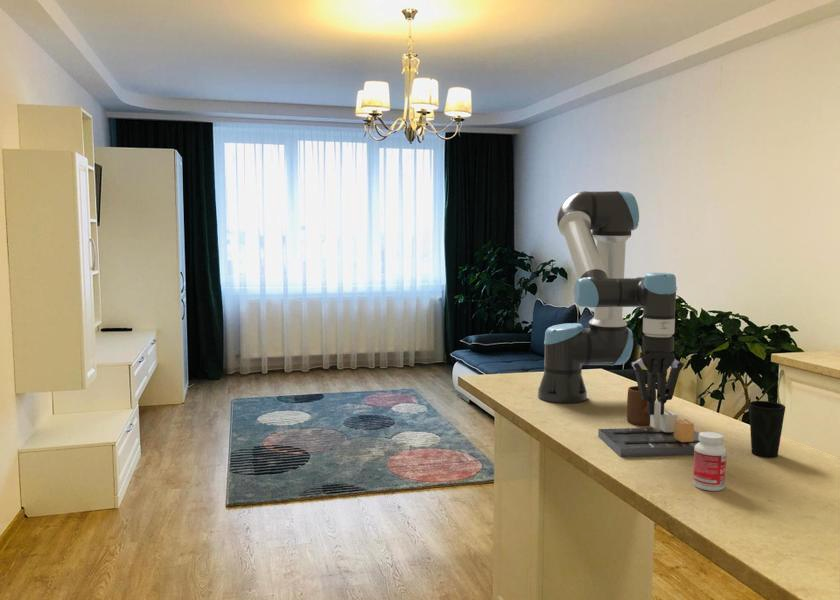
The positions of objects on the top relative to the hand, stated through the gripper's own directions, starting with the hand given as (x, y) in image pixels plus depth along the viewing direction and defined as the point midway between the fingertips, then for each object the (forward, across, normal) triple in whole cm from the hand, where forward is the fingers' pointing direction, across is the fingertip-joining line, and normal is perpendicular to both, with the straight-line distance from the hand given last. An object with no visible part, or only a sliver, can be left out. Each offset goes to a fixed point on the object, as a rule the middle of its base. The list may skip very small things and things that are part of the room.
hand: (655, 426), depth 174 cm
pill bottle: (+4, -2, -31) cm, 32 cm away
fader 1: (+1, +3, 0) cm, 3 cm away
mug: (+4, +3, +14) cm, 15 cm away
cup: (+4, +22, -12) cm, 25 cm away
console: (+3, -1, -4) cm, 5 cm away
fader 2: (+1, +4, -8) cm, 9 cm away
